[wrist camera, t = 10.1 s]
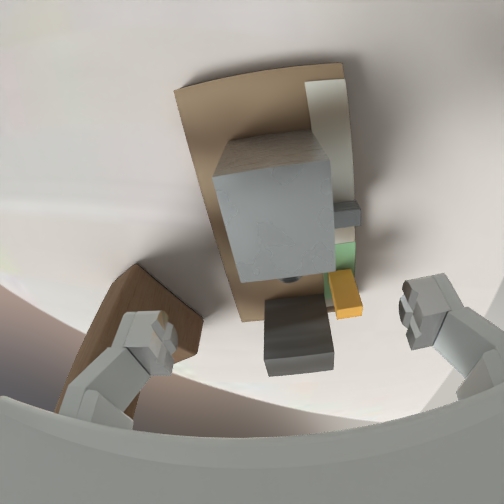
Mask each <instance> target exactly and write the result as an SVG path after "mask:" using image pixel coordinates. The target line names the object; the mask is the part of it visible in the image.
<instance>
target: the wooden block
mask: <svg viewBox="0 0 504 504" xmlns="http://www.w3.org/2000/svg"><path fill="white" fill-rule="evenodd" d="M138 311H165V312H166V314H167V315H168V317H169V318H168V322H169V323H171V324H172V325H174V327H175V329H176V331H177V335H178V345H177V350H176V351H175V352H174V353H173V354H172V357H173V358H174V364H175V363H177V362H180V361H182V360H185V359H187V358H190V357H192V356H194V355H196V354H197V352H198V347H199V342H200V337H201V331H202V326H203V319H202V317H201V316H199V315H198V314H197V313H195V312H194V311H193V310H192V309H190V308H189V307H188V306H187V305H185V304H184V303H183V302H182V301H180V300H179V299H178V298H177V297H176V296H174V295H173V294H172V293H171V292H169V291H168V290H167V289H166V288H165V287H163V286H162V285H161V284H160V283H159V282H157V281H156V280H155V279H154V278H153V277H152V276H150V275H149V274H148V273H147V272H146V271H145V270H143V269H142V268H141V267H140V266H139V265H137V264H135V265H133V266H132V267H131V268H129V269H128V270H127V271H126V272H125V273H124V274H122V275H121V276H120V277H119V278H118V279H117V280H115V281H114V282H113V283H112V285H111V286H110V288H109V290H108V292H107V294H106V296H105V298H104V300H103V302H102V304H101V306H100V308H99V310H98V312H97V314H96V316H95V318H94V320H93V322H92V324H91V326H90V328H89V330H88V332H87V334H86V336H85V339H84V341H83V343H82V345H81V347H80V349H79V352H78V354H77V356H76V358H75V361H74V363H73V365H72V368H71V370H70V372H69V375H68V377H67V380H66V382H65V385H64V387H63V390H62V392H61V395H60V397H59V400H58V403H57V405H56V408H55V411H54V413H57V414H59V411H60V408H61V405H62V402H63V399H64V396H65V393H66V390H67V388H68V385H69V384H70V383H71V382H72V381H73V380H74V379H75V378H76V377H77V376H78V375H79V374H80V373H82V372H83V371H84V370H85V369H86V368H87V367H88V366H89V365H90V364H91V363H92V362H93V361H94V360H95V359H96V358H97V357H98V356H99V355H100V354H101V353H103V352H104V351H105V350H106V349H107V348H108V347H111V346H112V344H113V341H114V338H115V336H116V333H117V330H118V328H119V325H120V323H121V320H122V318H123V315H124V314H125V313H126V312H138ZM139 394H140V391H139V393H138V394H137V395H136V396H135V398H134V399H133V400H132V402H131V403H130V404H129V406H128V407H127V408H126V409H125V411H124V412H123V413H125V414H126V415H127V416H129V417H130V418H131V419H132V420H133V416H134V413H135V409H136V405H137V401H138V397H139Z"/></svg>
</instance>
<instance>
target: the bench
mask: <svg viewBox="0 0 504 504" xmlns="http://www.w3.org/2000/svg"><path fill="white" fill-rule="evenodd" d="M174 94H175V98H176V102H177V106H178V110H179V113H180V117H181V121H182V125H183V128H184V132H185V136H186V139H187V143H188V147H189V150H190V154H191V157H192V161H193V164H194V168H195V171H196V175H197V178H198V182H199V185H200V189H201V192H202V196H203V199H204V203H205V206H206V209H207V213H208V216H209V219H210V223H211V226H212V229H213V233H214V236H215V239H216V243H217V246H218V249H219V252H220V256H221V259H222V262H223V265H224V268H225V272H226V275H227V278H228V281H229V284H230V287H231V290H232V294H233V297H234V300H235V303H236V306H237V309H238V312H239V315H240V318H241V321H242V322H249V321H260V320H264V362H265V366H266V369H267V372H268V376H269V377H271V376H283V375H294V374H303V373H312V372H320V371H328V370H333V368H334V347H333V341H332V336H331V330H330V324H329V319H328V312H335V307H334V303H333V298H332V294H331V289H330V285H329V273H328V272H326V273H319V274H311V275H303V276H302V278H301V279H299V280H298V281H296V282H293V283H283V282H281V281H279V280H278V279H271V280H263V281H254V282H246V283H241V281H240V278H239V274H238V271H237V267H236V264H235V260H234V257H233V253H232V249H231V246H230V242H229V239H228V235H227V231H226V228H225V224H224V221H223V217H222V213H221V210H220V206H219V202H218V199H217V195H216V191H215V187H214V184H213V180H212V176H213V174H214V171H215V169H216V167H217V164H218V162H219V160H220V157H221V155H222V153H223V151H224V148H225V146H226V144H227V142H228V141H231V140H237V139H242V138H248V137H254V136H260V135H266V134H273V133H280V132H287V131H295V130H303V129H310V130H311V131H312V133H313V134H314V136H315V137H316V139H317V140H318V142H319V143H320V145H321V147H322V148H323V150H324V151H325V153H326V155H327V156H328V158H329V159H330V167H331V179H332V193H333V203H339V202H348V201H354V172H353V154H352V139H351V127H350V116H349V106H348V97H347V89H346V81H345V79H344V72H343V66H342V63H326V64H313V65H302V66H292V67H284V68H276V69H269V70H263V71H257V72H251V73H245V74H240V75H235V76H230V77H225V78H220V79H216V80H211V81H207V82H203V83H199V84H195V85H191V86H187V87H183V88H180V89H177V90H174ZM334 230H335V262H336V271H338V270H345V269H351V270H352V273H353V276H354V275H355V226H353V227H345V228H337V229H334Z"/></svg>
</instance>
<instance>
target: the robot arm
mask: <svg viewBox="0 0 504 504" xmlns="http://www.w3.org/2000/svg"><path fill="white" fill-rule="evenodd" d="M402 290H403V292H404V295H403V296H402V297H401V298H400V301H399V315H400V319H401V322H402V325H404V326H405V327H406V328H408V330H407V333H406V336H407V339H408V342H409V345H410V348H411V350H416V349H420V348H425V347H429V346H433V348H434V349H435V350H436V351H438V352H439V353H440V354H441V355H442V356H443V357H444V358H445V359H446V360H447V361H448V362H449V363H450V364H451V365H452V366H453V367H454V368H455V369H456V370H457V371H458V372H459V373H460V374H461V375H462V376H463V377H464V378H465V380H464V381H463V383H462V384H461V385H460V387H459V388H458V389H457V391H456V393H457V397H458V400H459V401H456V402H453V403H450V404H448V405H444V406H442V407H438V408H435V409H432V410H429V411H425V412H422V413H418V414H415V415H411V416H407V417H403V418H399V419H395V420H391V421H387V422H382V423H377V424H373V425H368V426H362V427H357V428H351V429H345V430H339V431H332V432H324V433H316V434H307V435H298V436H297V435H296V436H283V437H267V438H266V437H264V438H209V437H189V436H177V435H166V434H157V433H149V432H142V431H135V430H132V427H133V420H132V419H131V418H130V417H129V416H127V415H126V414H125V413H123V412H124V411H125V409H126V408H127V407H128V406H129V404H130V403H131V402H132V400H133V399H134V398H135V396H136V395H137V394H138V393H139V391H140V390H141V389H142V387H143V386H144V385H145V384H146V382H147V381H148V380H149V378H150V377H151V375H153V376H167V375H168V376H169V375H171V373H172V369H173V364H174V358H173V357H172V354H173V353H174V352H175V351H176V350H177V345H178V335H177V331H176V329H175V327H174V325H172V324H171V323H169V322H168V318H169V317H168V315H167V314H166V312H165V311H138V312H126V313H125V314H124V315H123V318H122V320H121V323H120V325H119V328H118V330H117V333H116V336H115V338H114V341H113V344H112V346H111V347H108V348H107V349H106V350H105V351H104V352H103V353H101V354H100V355H99V356H98V357H97V358H96V359H95V360H94V361H93V362H92V363H91V364H90V365H89V366H88V367H87V368H86V369H85V370H84V371H83V372H82V373H80V374H79V375H78V376H77V377H76V378H75V379H74V380H73V381H72V382H71V383H70V384H69V385H68V388H67V390H66V393H65V396H64V399H63V402H62V405H61V408H60V411H59V414H57V413H53V412H50V411H46V410H43V409H40V408H37V407H34V406H31V405H28V404H25V403H22V402H19V401H17V400H14V399H12V398H9V397H6V396H0V504H504V331H502V330H501V329H500V328H498V327H497V326H495V325H494V324H493V323H491V322H490V321H488V320H487V319H485V318H484V317H482V316H481V315H479V314H478V313H476V312H475V311H473V310H472V309H470V308H469V307H464V306H463V304H462V302H461V300H460V298H459V297H458V295H457V293H456V291H455V289H454V288H453V286H452V284H451V282H450V281H449V279H448V277H447V276H446V275H445V274H444V273H442V274H437V275H432V276H426V277H421V278H416V279H411V280H405V282H404V283H403V287H402Z"/></svg>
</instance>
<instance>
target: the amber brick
mask: <svg viewBox="0 0 504 504" xmlns="http://www.w3.org/2000/svg"><path fill="white" fill-rule="evenodd" d="M328 273H329V285H330V289H331V294H332V298H333V303H334V307H335V312H336V317H337V319H344V318H350V317H357V316H362V310H363V305H362V302H361V298H360V295H359V292H358V289H357V286H356V282H355V279H354V276H353V273H352V270H351V269H345V270H338V271H334V272H328Z"/></svg>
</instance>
